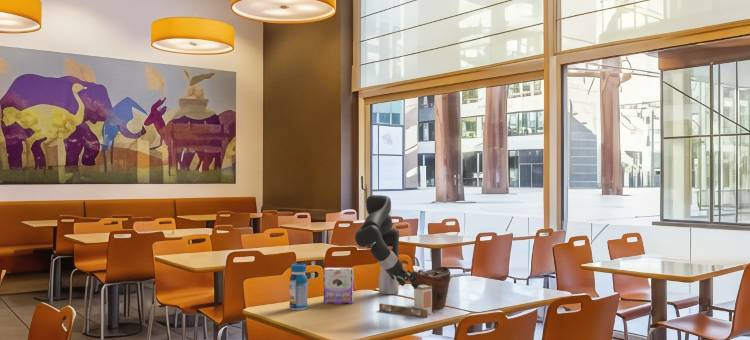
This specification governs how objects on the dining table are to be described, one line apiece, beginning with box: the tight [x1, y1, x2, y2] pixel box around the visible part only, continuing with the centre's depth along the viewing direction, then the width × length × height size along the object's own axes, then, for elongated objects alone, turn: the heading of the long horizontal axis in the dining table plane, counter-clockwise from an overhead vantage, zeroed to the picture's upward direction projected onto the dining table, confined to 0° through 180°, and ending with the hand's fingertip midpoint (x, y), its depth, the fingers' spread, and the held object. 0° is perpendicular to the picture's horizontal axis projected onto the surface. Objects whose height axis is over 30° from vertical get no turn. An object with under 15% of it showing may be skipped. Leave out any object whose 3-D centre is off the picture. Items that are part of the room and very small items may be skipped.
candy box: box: [323, 267, 354, 305], centre depth 308 cm, size 14×6×16 cm, turn 84°
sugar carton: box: [413, 285, 433, 315], centre depth 284 cm, size 6×6×12 cm
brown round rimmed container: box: [411, 266, 451, 310], centre depth 299 cm, size 18×20×18 cm
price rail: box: [378, 303, 429, 318], centre depth 283 cm, size 24×2×3 cm, turn 56°
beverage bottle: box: [288, 263, 309, 311], centre depth 294 cm, size 8×8×20 cm
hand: (410, 285), depth 280 cm, fingers open, 8 cm apart
